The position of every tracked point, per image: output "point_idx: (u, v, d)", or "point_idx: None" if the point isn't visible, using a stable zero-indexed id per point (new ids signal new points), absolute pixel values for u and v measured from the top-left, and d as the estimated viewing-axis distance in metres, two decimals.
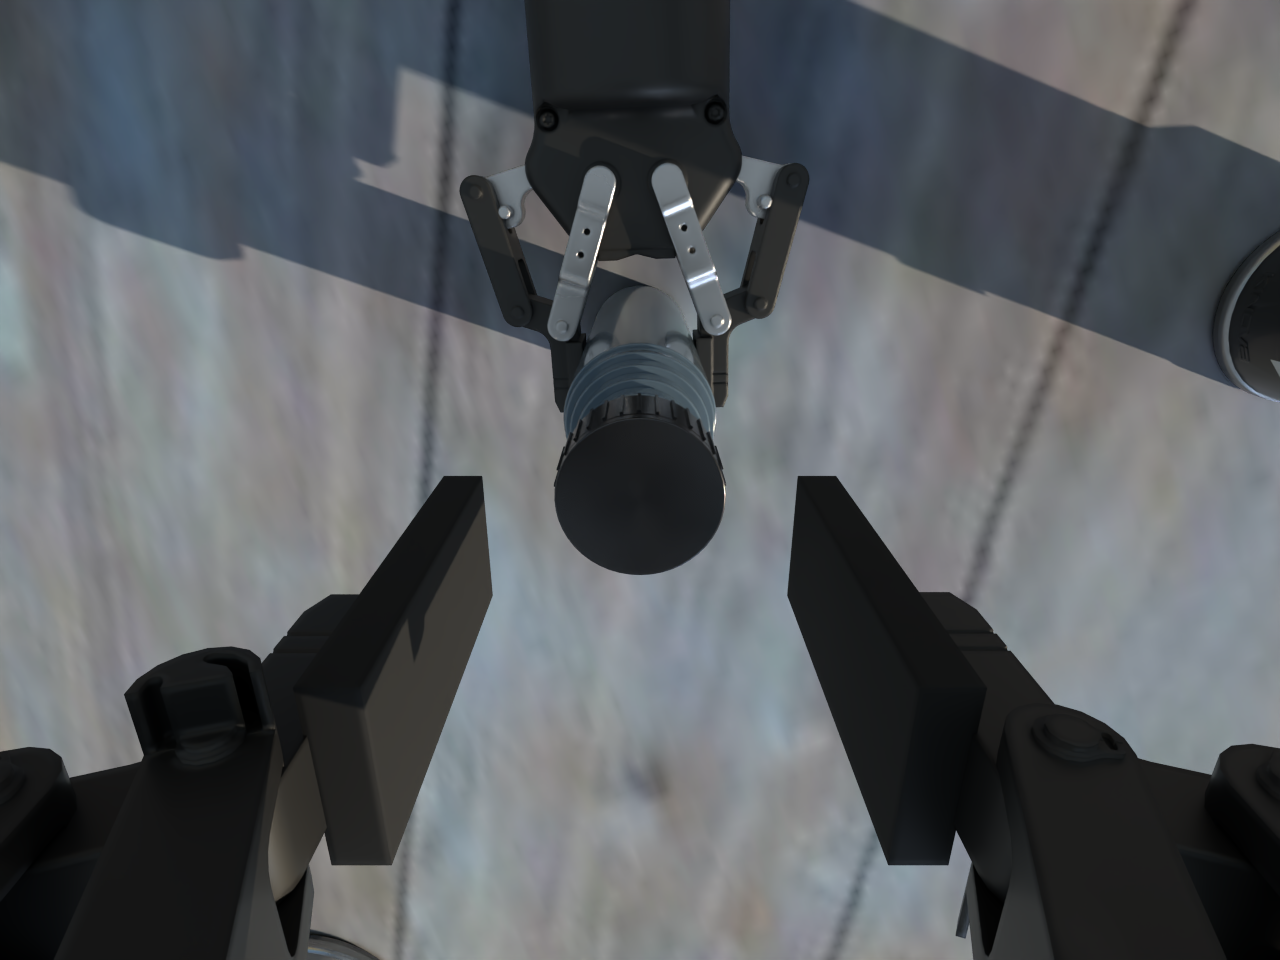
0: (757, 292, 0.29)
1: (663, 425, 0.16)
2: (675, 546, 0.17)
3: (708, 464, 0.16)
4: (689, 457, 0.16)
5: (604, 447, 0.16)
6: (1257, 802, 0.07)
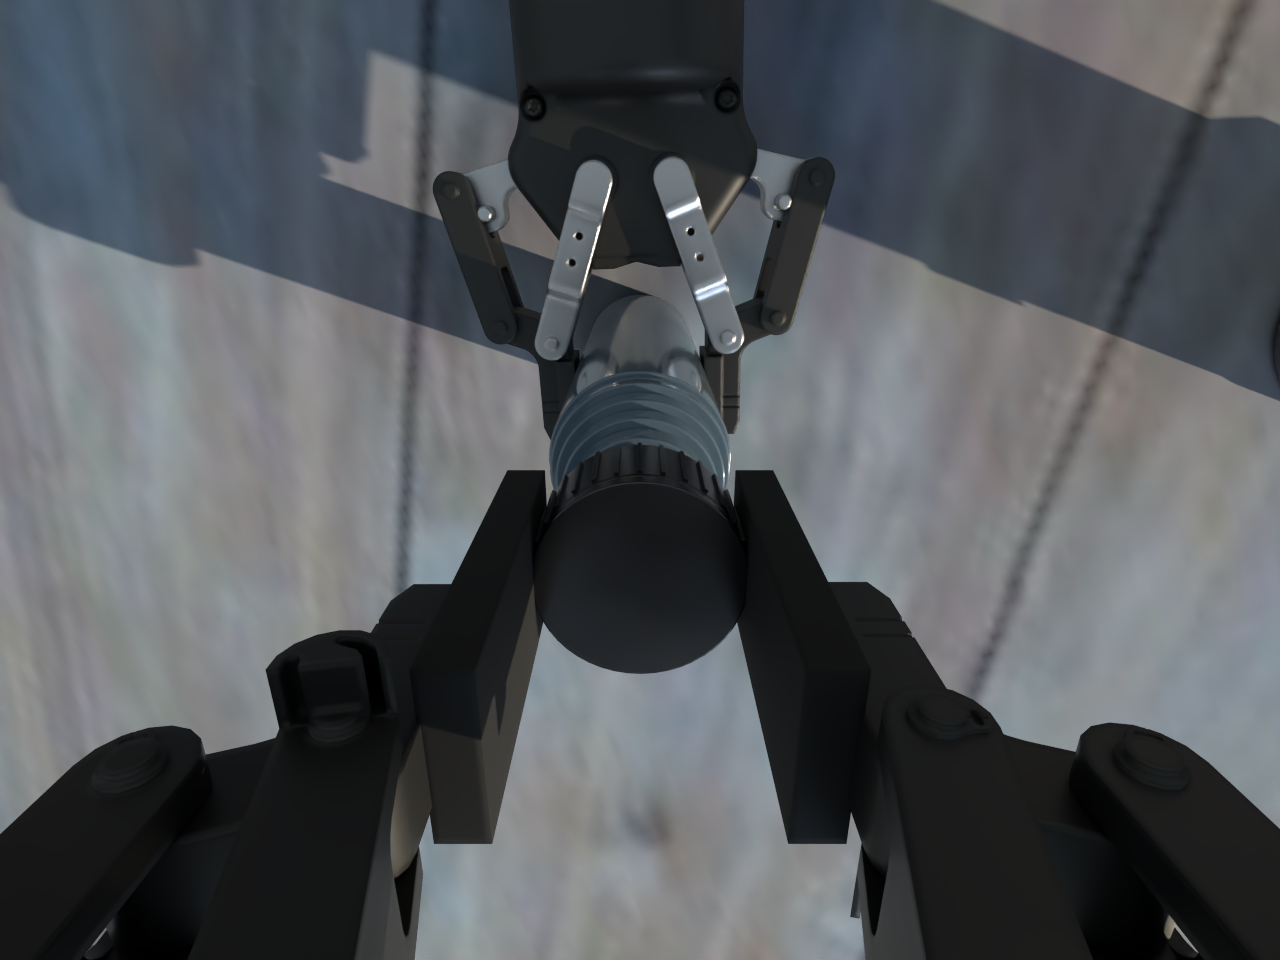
0: (774, 305, 0.25)
1: (669, 491, 0.12)
2: (685, 639, 0.13)
3: (728, 539, 0.12)
4: (704, 531, 0.12)
5: (594, 518, 0.12)
6: (1113, 781, 0.07)
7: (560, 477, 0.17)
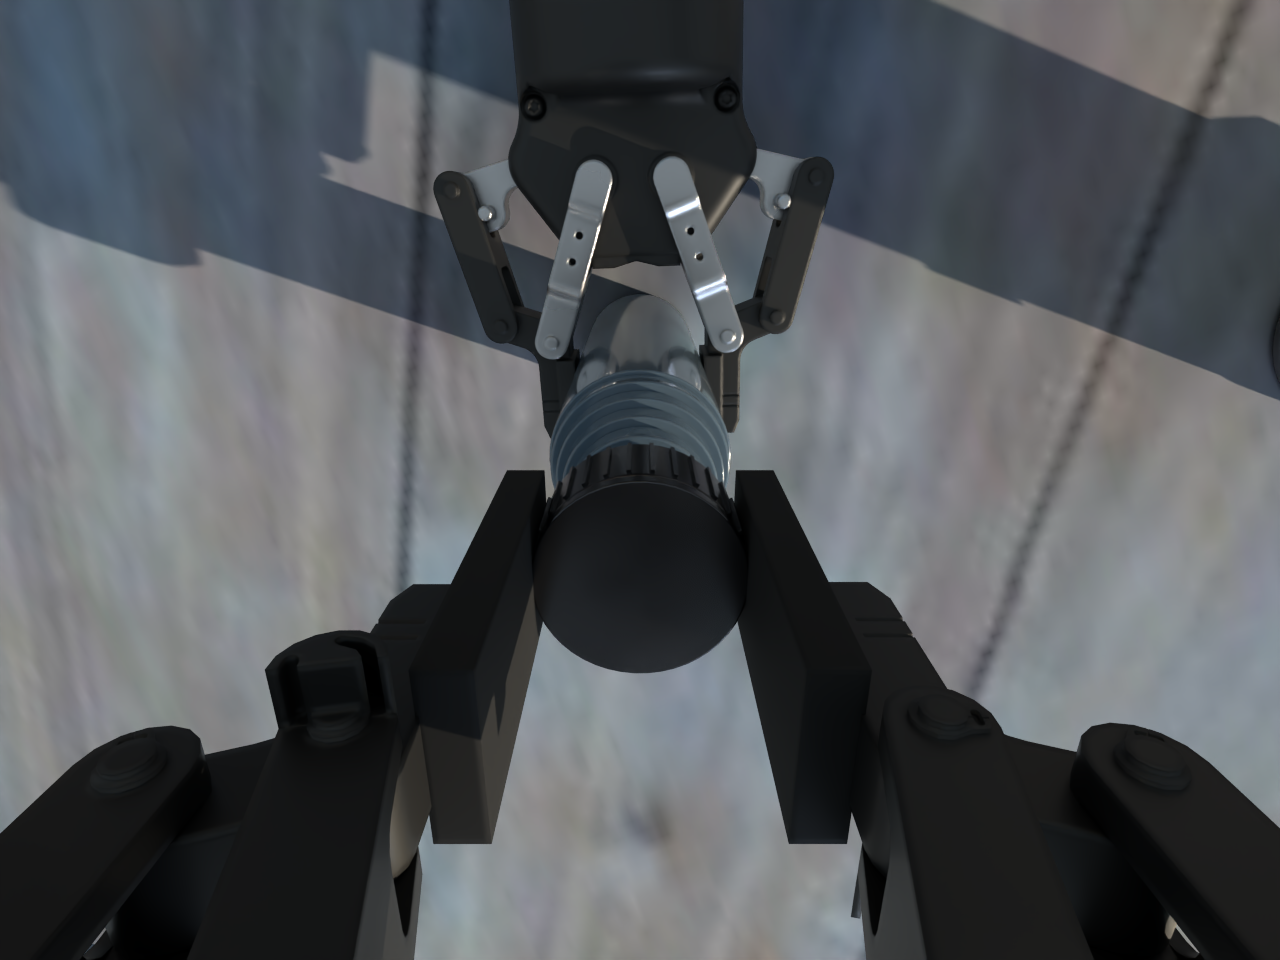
0: (773, 304, 0.25)
1: (536, 576, 0.13)
2: (697, 530, 0.12)
3: (572, 515, 0.12)
4: (569, 538, 0.12)
5: (581, 631, 0.13)
6: (1114, 781, 0.07)
7: (560, 475, 0.17)
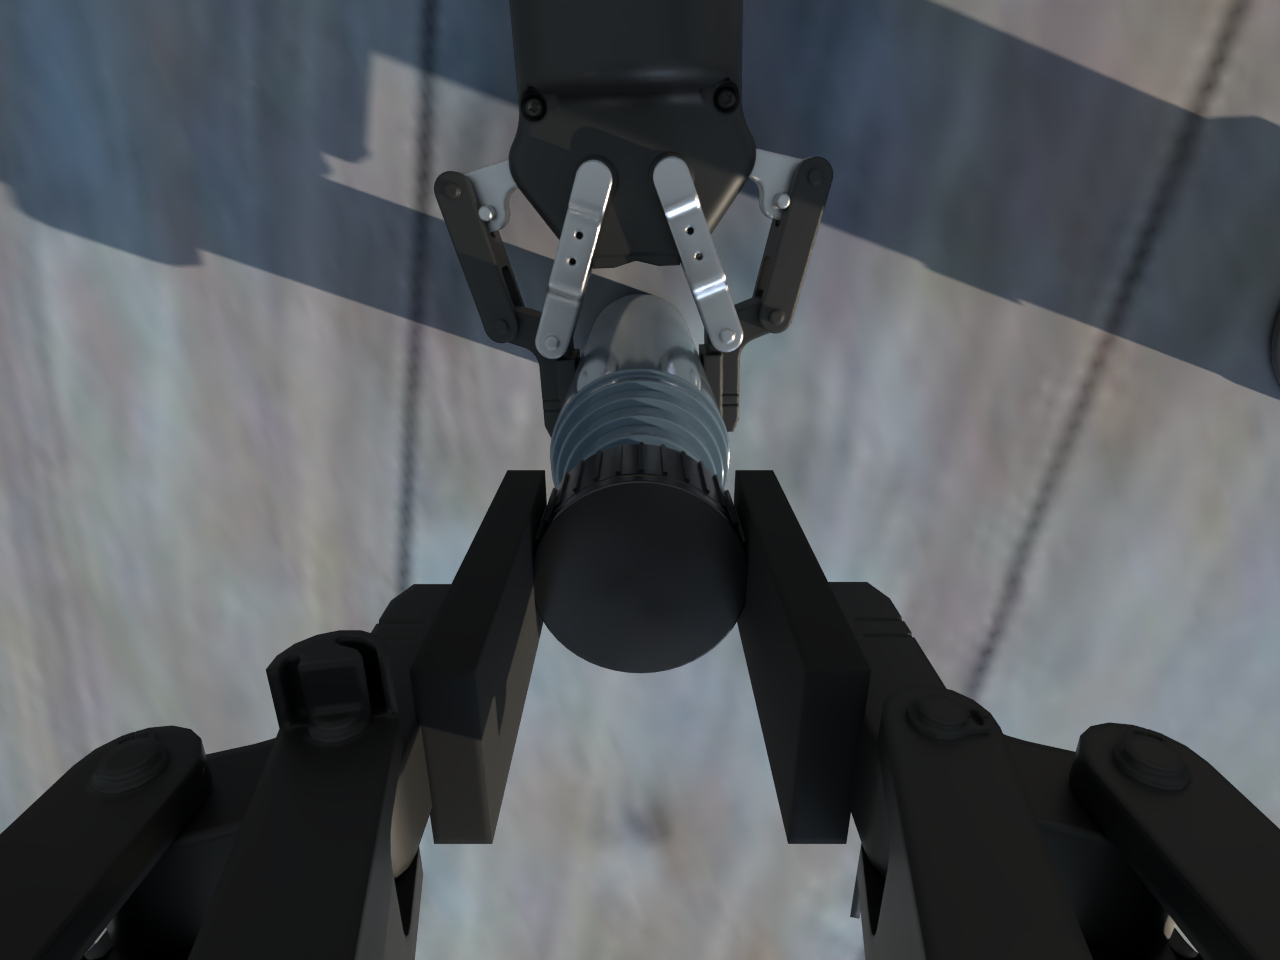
0: (773, 303, 0.25)
1: (652, 668, 0.13)
2: (569, 544, 0.12)
3: (582, 649, 0.13)
4: (607, 647, 0.13)
5: (706, 624, 0.13)
6: (1113, 781, 0.07)
7: (561, 474, 0.17)
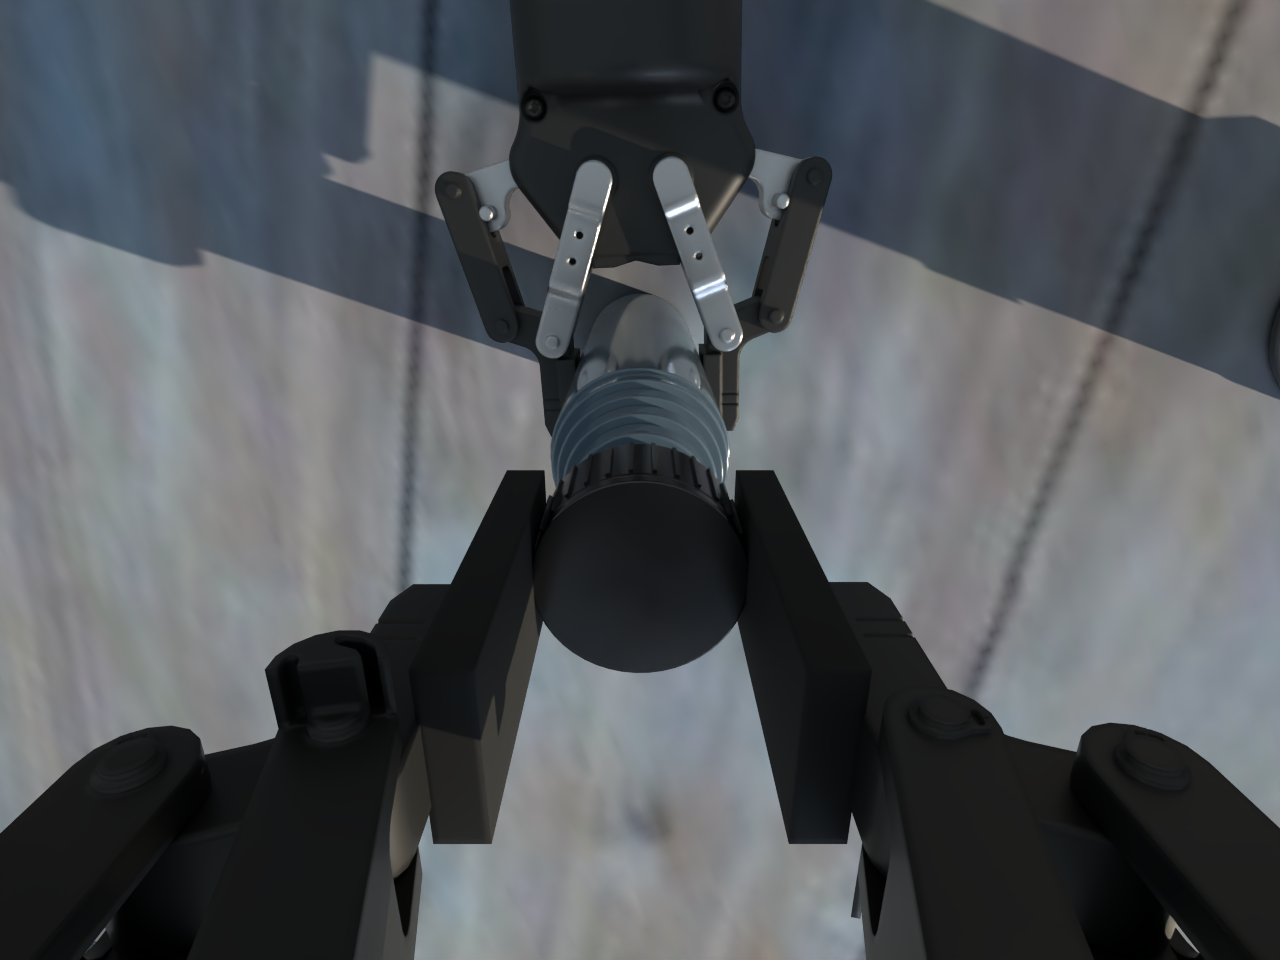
0: (772, 303, 0.25)
1: (740, 553, 0.12)
2: (613, 646, 0.13)
3: (727, 619, 0.13)
4: (722, 598, 0.13)
5: (675, 512, 0.12)
6: (1114, 781, 0.07)
7: (561, 472, 0.17)
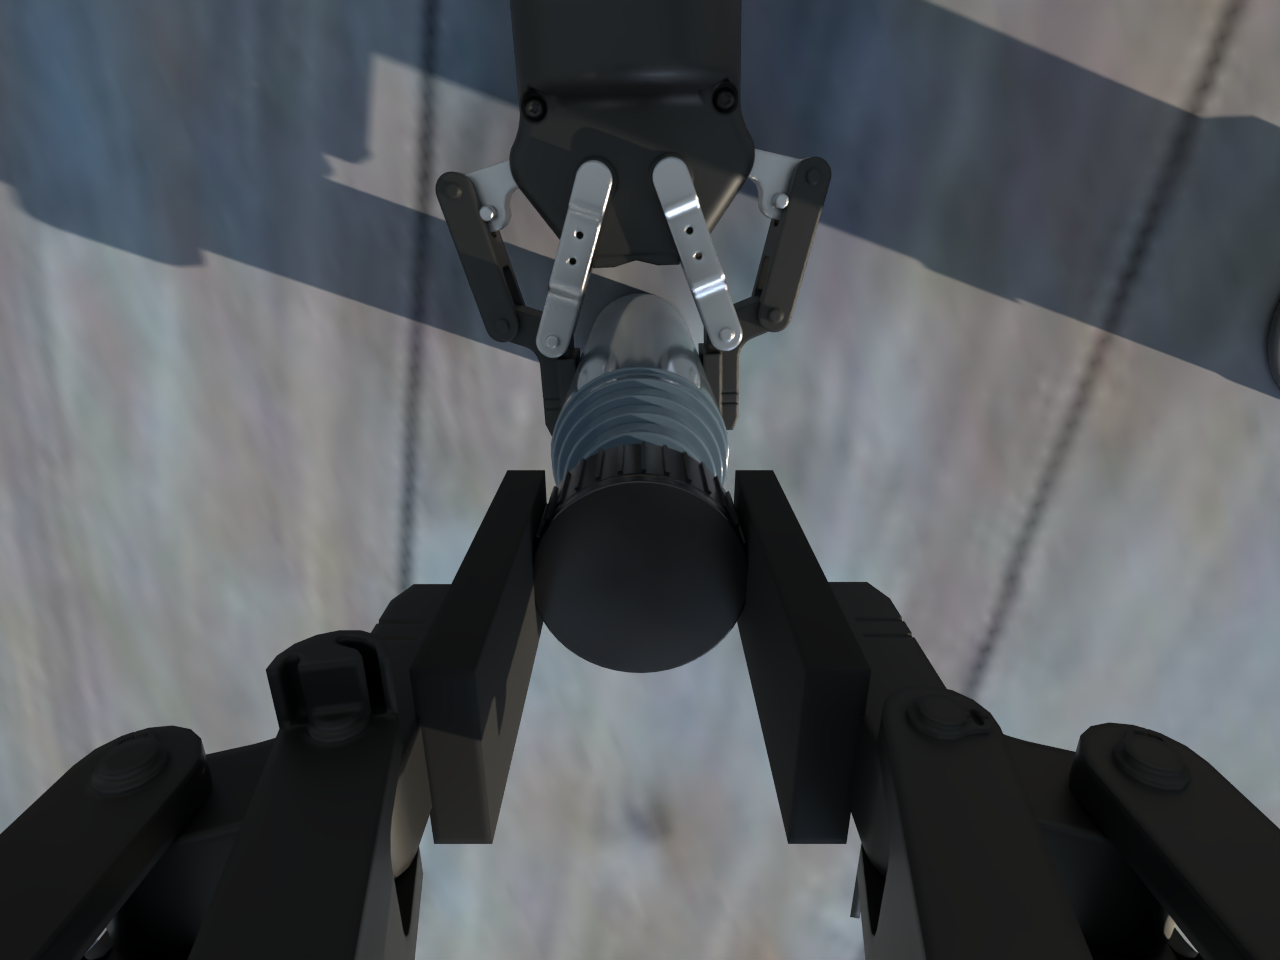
0: (771, 302, 0.25)
1: (586, 500, 0.12)
2: (719, 594, 0.13)
3: (665, 494, 0.12)
4: (641, 505, 0.12)
5: (557, 566, 0.13)
6: (1113, 781, 0.07)
7: (562, 471, 0.18)
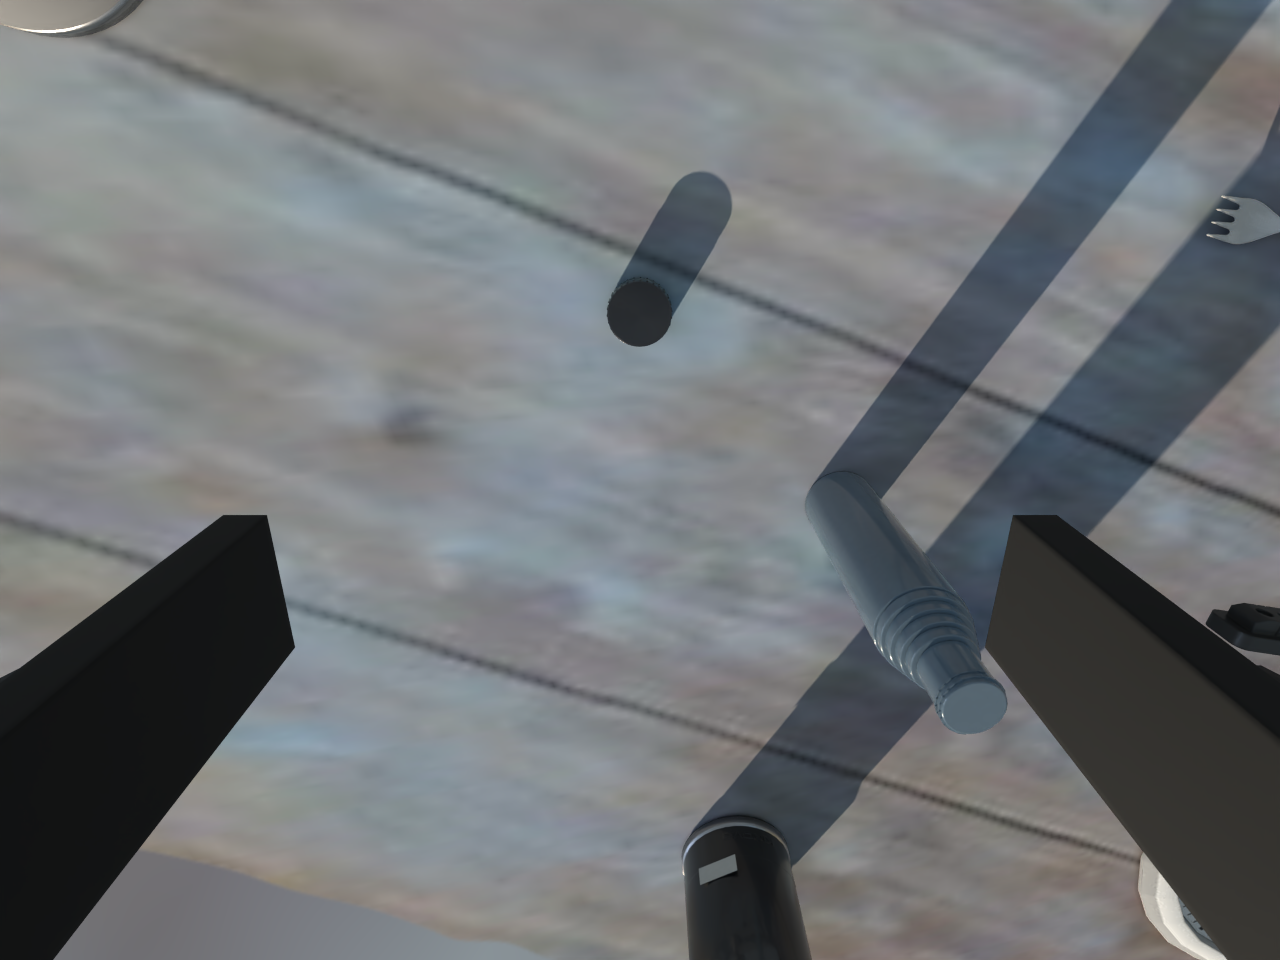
0: None
1: (624, 287, 0.43)
2: (662, 318, 0.43)
3: (646, 285, 0.43)
4: (639, 288, 0.43)
5: (615, 309, 0.43)
6: None
7: (950, 612, 0.33)
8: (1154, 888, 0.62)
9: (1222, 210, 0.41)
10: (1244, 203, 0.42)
